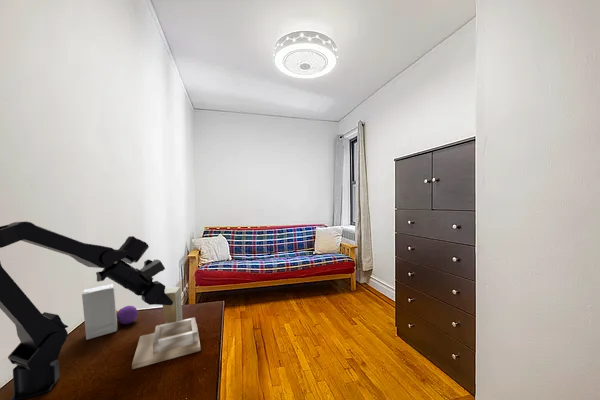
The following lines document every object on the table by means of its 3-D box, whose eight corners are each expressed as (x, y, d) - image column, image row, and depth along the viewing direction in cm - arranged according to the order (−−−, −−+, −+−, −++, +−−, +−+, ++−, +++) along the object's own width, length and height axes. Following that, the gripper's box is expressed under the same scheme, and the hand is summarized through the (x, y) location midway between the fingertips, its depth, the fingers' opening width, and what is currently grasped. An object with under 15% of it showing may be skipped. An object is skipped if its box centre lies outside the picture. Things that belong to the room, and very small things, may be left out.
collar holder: (132, 369, 65) (131, 352, 65) (140, 340, 80) (139, 326, 80) (200, 350, 72) (199, 335, 72) (196, 326, 86) (196, 314, 86)
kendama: (114, 301, 104) (142, 305, 94) (112, 317, 102) (140, 322, 92) (96, 303, 99) (124, 307, 89) (94, 320, 97) (121, 326, 87)
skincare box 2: (169, 322, 91) (167, 287, 91) (183, 320, 91) (181, 285, 92) (163, 331, 84) (161, 293, 84) (177, 329, 85) (175, 292, 85)
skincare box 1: (117, 325, 91) (115, 282, 91) (117, 332, 86) (114, 286, 86) (86, 333, 86) (84, 288, 86) (84, 341, 81) (81, 293, 81)
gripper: (155, 256, 77) (195, 284, 84) (138, 250, 90) (173, 274, 98) (125, 291, 71) (170, 317, 79) (111, 279, 84) (151, 302, 92)
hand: (167, 300), depth 87 cm, fingers open, 9 cm apart
